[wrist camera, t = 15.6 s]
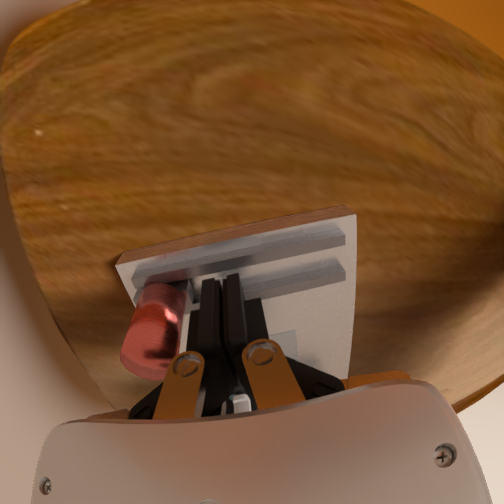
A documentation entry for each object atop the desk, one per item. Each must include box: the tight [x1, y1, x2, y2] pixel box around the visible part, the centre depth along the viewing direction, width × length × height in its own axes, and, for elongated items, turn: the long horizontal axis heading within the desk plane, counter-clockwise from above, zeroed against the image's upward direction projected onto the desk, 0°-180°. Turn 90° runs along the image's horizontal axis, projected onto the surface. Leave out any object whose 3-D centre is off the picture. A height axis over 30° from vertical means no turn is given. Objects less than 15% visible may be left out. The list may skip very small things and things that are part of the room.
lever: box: [120, 278, 194, 380], centre depth 12 cm, size 3×2×5 cm
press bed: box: [115, 205, 357, 379], centre depth 16 cm, size 13×18×6 cm
